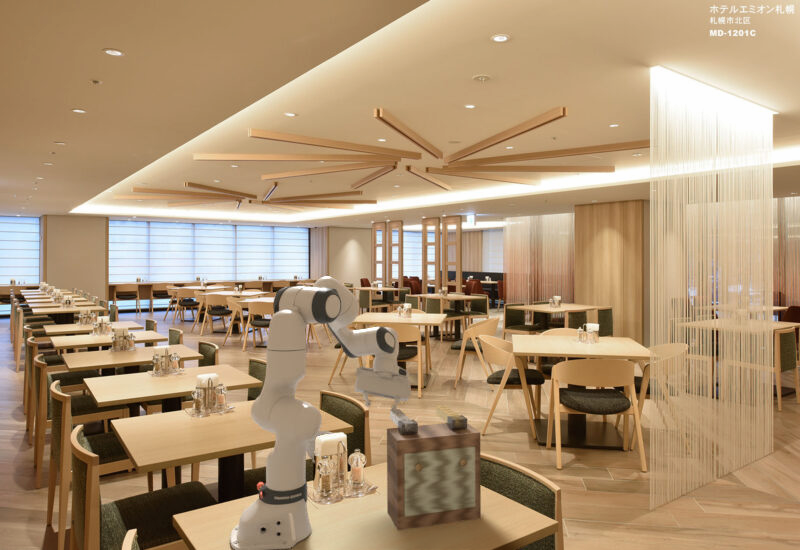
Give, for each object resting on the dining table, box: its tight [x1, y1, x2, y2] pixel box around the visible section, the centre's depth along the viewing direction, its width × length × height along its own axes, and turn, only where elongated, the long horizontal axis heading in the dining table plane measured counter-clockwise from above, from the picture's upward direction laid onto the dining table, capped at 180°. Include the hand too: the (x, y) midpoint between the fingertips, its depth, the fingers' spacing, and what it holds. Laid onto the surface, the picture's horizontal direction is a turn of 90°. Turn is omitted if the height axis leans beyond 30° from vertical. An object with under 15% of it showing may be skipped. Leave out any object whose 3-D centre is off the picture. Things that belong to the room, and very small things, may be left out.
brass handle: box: [435, 404, 468, 430], centre depth 170 cm, size 5×17×3 cm, turn 16°
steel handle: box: [389, 408, 419, 435], centre depth 166 cm, size 5×17×3 cm, turn 16°
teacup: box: [306, 430, 333, 464], centre depth 209 cm, size 12×15×10 cm
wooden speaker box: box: [386, 422, 482, 531], centre depth 161 cm, size 26×14×26 cm, turn 106°
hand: (380, 408), depth 185 cm, fingers open, 8 cm apart
